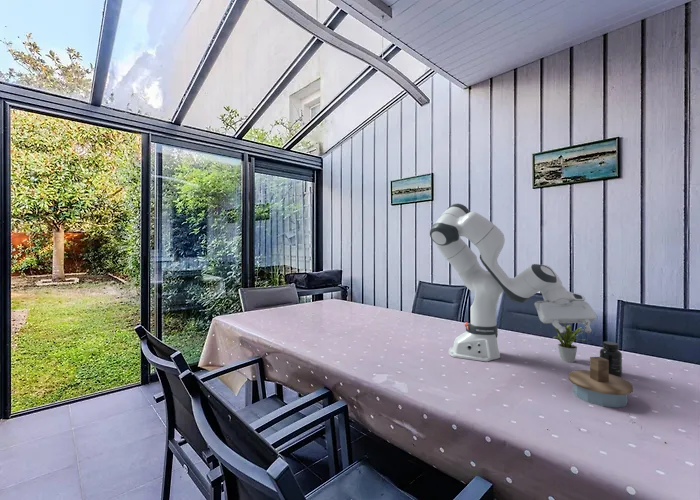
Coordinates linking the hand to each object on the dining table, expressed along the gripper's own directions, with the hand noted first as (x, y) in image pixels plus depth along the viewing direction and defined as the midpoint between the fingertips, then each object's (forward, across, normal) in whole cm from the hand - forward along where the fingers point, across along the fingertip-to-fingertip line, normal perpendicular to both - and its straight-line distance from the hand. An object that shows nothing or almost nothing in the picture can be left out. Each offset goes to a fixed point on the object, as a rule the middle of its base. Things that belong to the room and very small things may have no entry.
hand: (576, 332), depth 121 cm
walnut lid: (+18, 0, +2) cm, 18 cm away
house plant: (-3, +14, +29) cm, 33 cm away
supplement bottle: (+8, +20, +19) cm, 28 cm away
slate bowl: (+21, 0, +6) cm, 22 cm away
